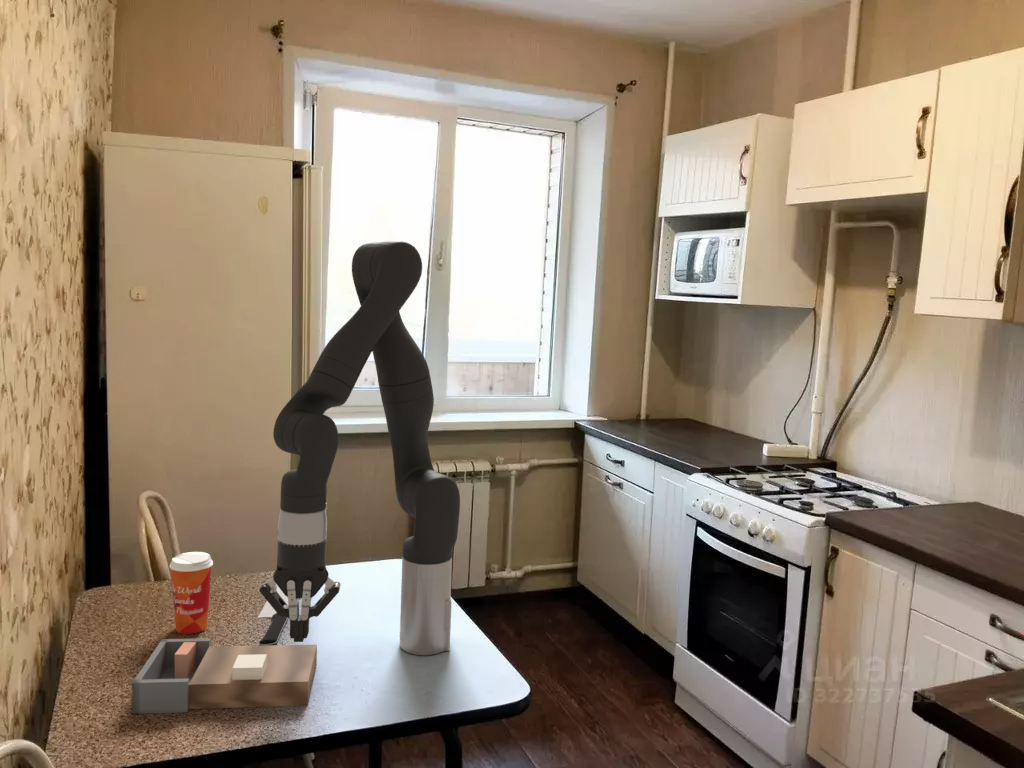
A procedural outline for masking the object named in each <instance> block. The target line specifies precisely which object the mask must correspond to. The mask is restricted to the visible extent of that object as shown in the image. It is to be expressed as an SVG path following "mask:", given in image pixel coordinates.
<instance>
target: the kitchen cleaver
mask: <svg viewBox="0 0 1024 768" xmlns="http://www.w3.org/2000/svg"><path fill="white" fill-rule="evenodd" d="M276 586H277V590H276V591H277V592H278V594H279V595H280V596H281V597H282V599H283V600H284V601H285V602H286V604H287V605H288V597H286V596H285V595H284V593H283V592H282V591H281V589H280V588H279V587H278V585H277V584H276ZM259 618H260V619H264V618H266V619H271V623H270V625H269V626H268V629H267V631H266V632H265V634H264V635H263V638H262V639H261V640H259V643H258V646H265V645H277V644H278V641H279V639H280V637H281V634H282V632H283V630H284V628H285V625H286V623H287V622H288V619H289V618H288V617H286V616H283V617H281V616H279V615H278V614H277V612H276V611H275V610H274V609H273V607H272V606H271V605H270V604H269V602H268V601H267V600H266V602H265V604H264V606H263V607H262V609H261V611H260V612H259V614H258V616H257V619H259Z"/></svg>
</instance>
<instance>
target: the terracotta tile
mask: <svg viewBox="0 0 1024 768" xmlns="http://www.w3.org/2000/svg"><path fill="white" fill-rule="evenodd" d="M195 668H196V642H184V643H183V644H182V645H181V647H180V648H179V649H178V651H177V652H176V653H175V679H188V678H189V677H190V675H191V674H192V673H193V671H194V670H195Z"/></svg>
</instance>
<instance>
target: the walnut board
mask: <svg viewBox="0 0 1024 768" xmlns="http://www.w3.org/2000/svg"><path fill="white" fill-rule="evenodd" d="M256 654H267V667H266V669H265V672H264V675H263V678H262V679H259V680H232V668H233V666H234V663H235V661H236V659H237V657H238V655H256ZM317 657H318V644H280V645H279V644H278V645H277V644H276V645H265V646H260V645H231V646H230V645H224V646H220V645H219V646H212V645H211V647H209V648H208V650H207V652H206V654H205V656H204V657H203V659H202V661H201V663H200V665H199V667H198V669H197V671H196V672H195V674H194V676H193V678H192V680H191V682H190V684H189V710H197V709H198V710H199V709H200V710H201V709H227V708H228V709H229V708H230V709H232V708H233V709H234V708H262V707H263V708H265V707H266V708H267V707H293V706H294V707H298V706H300V705H303V706H308V705H309V703H310V702H309V701H310V698H311V693H312V688H313V684H314V680H315V675H316V670H317V667H316V666H317V664H318V663H317V661H318V658H317Z"/></svg>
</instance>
